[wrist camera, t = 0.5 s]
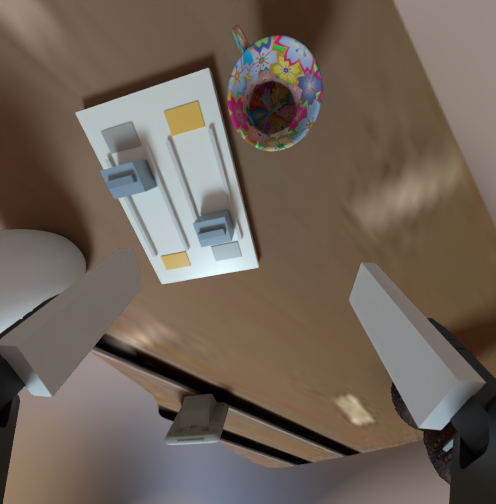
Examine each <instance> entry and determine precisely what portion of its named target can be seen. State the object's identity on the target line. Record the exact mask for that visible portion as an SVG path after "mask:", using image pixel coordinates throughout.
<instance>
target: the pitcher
mask: <svg viewBox="0 0 496 504" xmlns="http://www.w3.org/2000/svg"><path fill="white" fill-rule="evenodd" d="M85 273H86V261H85V258H84V256H83V254H82V252H81V251H80V250H79V248H78V247H77V246H76V245H75V244H74V243H72V242H71V241H70V240H68V239H67V238H65V237H63V236H61V235H58V234H55V233H51V232H46V231H40V230H29V229H11V230H2V231H0V333H2V332H3V331H4V330H6V329H7V328H8V327H10V326H11V325H12V324H14V323H15V322H16V321H18V320H19V319H22V318H23V316H25V315H26V314H27V313H29V312H30V311H31V312H32V311H33V309H34V308H35V307H37V306H38V305H40V304H41V303H42V302H44V301H45V300H47V299H49V298H51V297H53V296H55V295H57V294H60V293H62V292H63V291H64V290H66V289H67V288H68V287H70V286H71V285H72V284H74V283H75V282H76V281H78V280H79V279H80V278H82V277H83V276H84V275H85Z"/></svg>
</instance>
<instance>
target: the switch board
mask: <svg viewBox="0 0 496 504" xmlns="http://www.w3.org/2000/svg"><path fill="white" fill-rule="evenodd" d="M75 114H76V116H77V118H78V120H79V122H80V124H81V125H82V127H83V129H84V131H85V133H86V135H87V137H88V139H89V141H90V143H91V145H92V147H93V149H94V151H95V153H96V155H97V157H98V159H99V161H100V163H101V165H102V167H103V169H104V170H105V169H108V168H112V167H115V166H119V165H122V164H126V163H130V162H134V161H142V160H147V162H148V164H149V167H150V169H151V172H152V174H153V176H154V179H155V181H156V184H157V186H158V187H155V188H153V189H150V190H148V191H146V192H142V193H138V194H134V195H130V196H126V197H122V198H118V199H119V201H120V203H121V204H122V206H123V208H124V210H125V212H126V214H127V216H128V218H129V220H130V222H131V224H132V226H133V228H134V230H135V232H136V234H137V236H138V238H139V240H140V242H141V244H142V246H143V248H144V250H145V252H146V254H147V256H148V258H149V260H150V262H151V264H152V266H153V268H154V270H155V272H156V274H157V276H158V278H159V280H160V281H161V283H162V284H166V283H172V282H178V281H184V280H189V279H195V278H201V277H207V276H212V275H218V274H224V273H230V272H236V271H241V270H247V269H253V268H259V261H258V257H257V253H256V249H255V245H254V241H253V237H252V233H251V229H250V224H249V220H248V216H247V212H246V208H245V204H244V200H243V196H242V192H241V188H240V184H239V180H238V176H237V172H236V168H235V164H234V160H233V156H232V152H231V148H230V143H229V139H228V135H227V131H226V127H225V123H224V119H223V115H222V111H221V107H220V103H219V99H218V95H217V91H216V87H215V83H214V79H213V75H212V72H211V70H210V69H209V68H206V69H203V70H200V71H197V72H194V73H191V74H188V75H185V76H182V77H179V78H177V79H174V80H171V81H168V82H165V83H162V84H159V85H156V86H153V87H150V88H147V89H144V90H141V91H138V92H135V93H132V94H129V95H126V96H123V97H120V98H117V99H114V100H111V101H108V102H105V103H103V104H100V105H97V106H94V107H91V108H88V109H85V110H82V111H79V112H76V113H75ZM223 210H229V214H230V217H231V221H232V224H233V228H234V231H235V232H234V235H233V238H232V241H230V242H225V243H220V244H215V245H210V246H205V247H201V245H200V242H199V239H198V237H197V234H196V231H195V229H194V226H193V223H194V222H195V221H196V219H197V218H198V217H199V216H201V215H205V214H210V213H214V212H219V211H223Z"/></svg>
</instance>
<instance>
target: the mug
mask: <svg viewBox="0 0 496 504" xmlns="http://www.w3.org/2000/svg"><path fill="white" fill-rule="evenodd" d="M232 33H233V36H234V38H235V41H236V43H237V46H238V48H239V50H240V53H241V56H240V58H239V59H238V61H237V62H236V64H235V66H234V68H233V71H232V73H231V76H230V80H229V85H228V93H227V100H228V109H229V114H230V117H231V120H232V123H233V125H234V127H235V129H236V130H237V132H238V133H239V135H240V136H241V137H242V138H243V139H244V140H245V141H246V142H247V143H249V144H250V145H252V146H254V147H255V148H258V149H261V150H265V151H279V150H283V149H286V148H289V147H291V146H293V145H294V144H296V143H297V142H299V141H300V140H301V139H302V138H303V137H304V136H305V135H306V134H307V133H308V131H309V130H310V129H311V127H312V126H313V124H314V122H315V120H316V118H317V116H318V113H319V110H320V106H321V101H322V93H323V86H322V77H321V73H320V69H319V66H318V64H317V62H316V59H315V58H314V56H313V54H312V53H311V52H310V50H309V49H308V48H307V47H306V46H305V45H303V44H302V43H301V42H299V41H298V40H296V39H294V38H291V37H288V36H283V35H273V36H268V37H265V38H262V39H260V40H258V41H256V42H255V43H253V44H252V45H251V46H250V45H249V43H248V41H247V39H246V37H245V35H244V33H243V31H242V29H241V28H240V26H239V25H235V26H234V27H233V29H232Z"/></svg>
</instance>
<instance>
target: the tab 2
mask: <svg viewBox="0 0 496 504" xmlns="http://www.w3.org/2000/svg"><path fill="white" fill-rule="evenodd" d="M193 226H194V229H195V231H196V234H197V237H198V239H199V242H200V245H201V247H205V246H210V245H215V244H220V243H225V242H230V241H232V238H233V235H234V232H235V231H234V228H233V224H232V221H231V217H230V214H229V210H223V211H219V212H214V213H210V214H205V215H201V216H199V217H198V218H197V219H196V221H195V222H194V223H193Z"/></svg>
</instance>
